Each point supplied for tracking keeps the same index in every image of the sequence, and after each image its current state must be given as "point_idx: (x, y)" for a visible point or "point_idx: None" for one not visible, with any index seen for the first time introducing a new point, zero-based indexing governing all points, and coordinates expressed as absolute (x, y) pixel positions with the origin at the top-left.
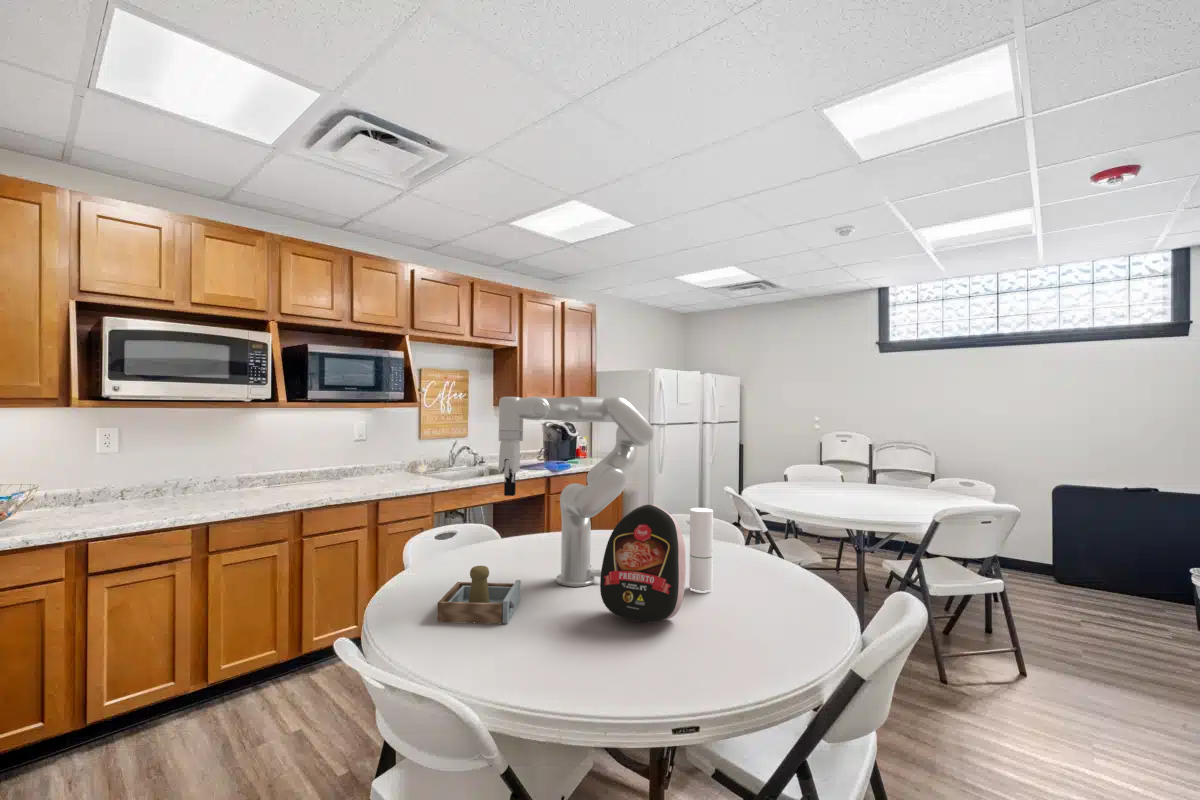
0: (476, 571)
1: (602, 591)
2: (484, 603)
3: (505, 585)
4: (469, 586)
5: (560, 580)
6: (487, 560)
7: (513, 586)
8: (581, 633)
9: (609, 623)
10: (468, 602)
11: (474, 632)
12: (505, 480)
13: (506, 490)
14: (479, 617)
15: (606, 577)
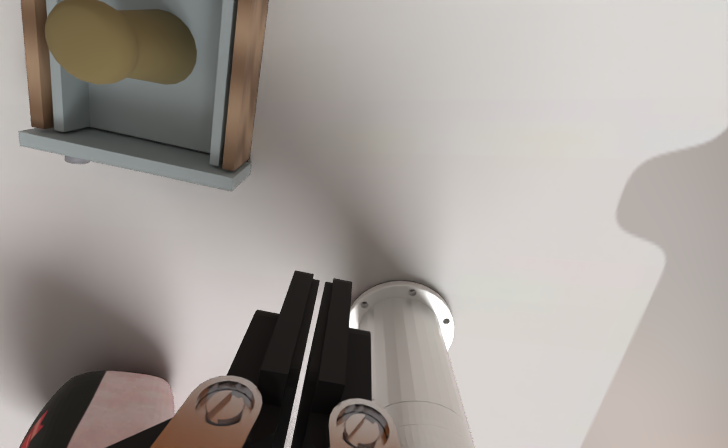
0: (45, 28)
1: (62, 392)
2: (33, 69)
3: (226, 138)
4: (223, 3)
5: (378, 293)
6: (721, 61)
7: (163, 167)
8: (44, 295)
9: (106, 352)
10: (32, 10)
11: (5, 42)
12: (177, 421)
13: (250, 324)
14: None
15: (36, 430)
